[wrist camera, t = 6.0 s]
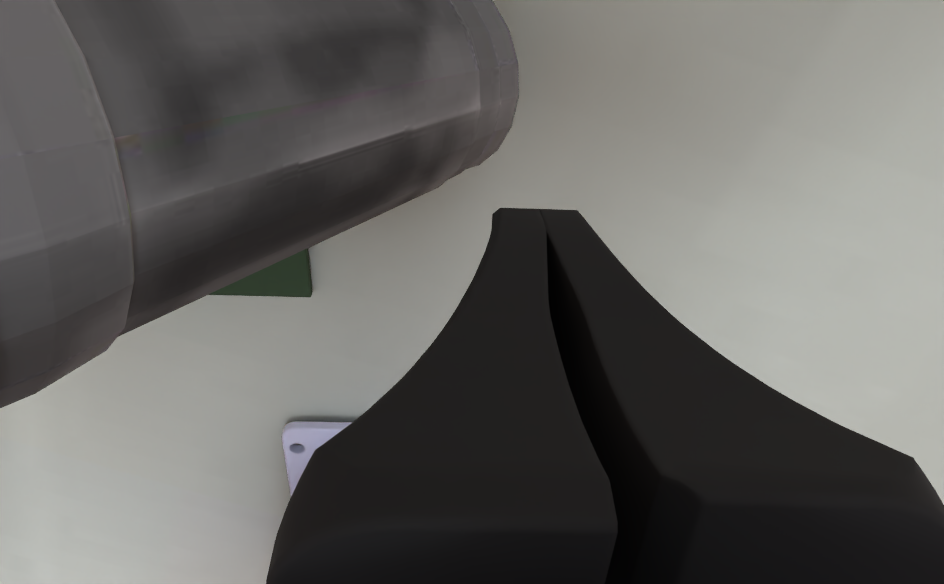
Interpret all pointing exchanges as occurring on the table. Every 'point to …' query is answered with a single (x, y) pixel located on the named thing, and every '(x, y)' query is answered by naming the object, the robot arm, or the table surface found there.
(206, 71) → the beverage cup
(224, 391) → the table surface
